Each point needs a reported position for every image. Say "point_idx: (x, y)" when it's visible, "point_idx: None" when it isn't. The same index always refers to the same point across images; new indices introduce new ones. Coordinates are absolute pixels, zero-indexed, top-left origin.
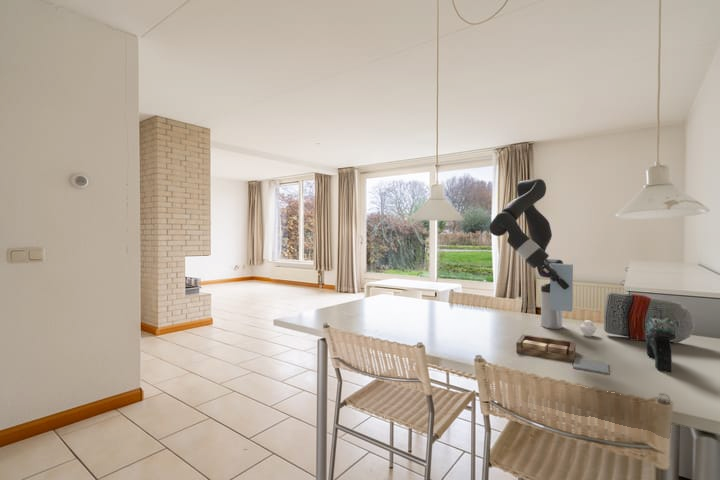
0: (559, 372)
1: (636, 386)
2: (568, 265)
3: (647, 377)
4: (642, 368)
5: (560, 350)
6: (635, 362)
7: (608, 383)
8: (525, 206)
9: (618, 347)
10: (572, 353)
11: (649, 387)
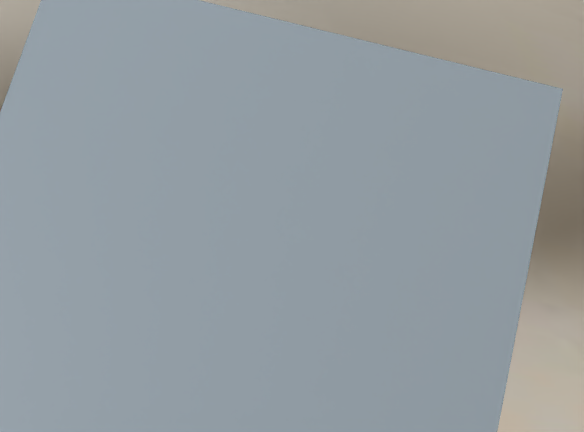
0: (529, 367)
1: (567, 96)
2: (518, 257)
3: (443, 25)
4: (333, 7)
5: None
6: (257, 9)
7: (580, 190)
8: None
9: (32, 11)
10: None
11: (558, 54)
